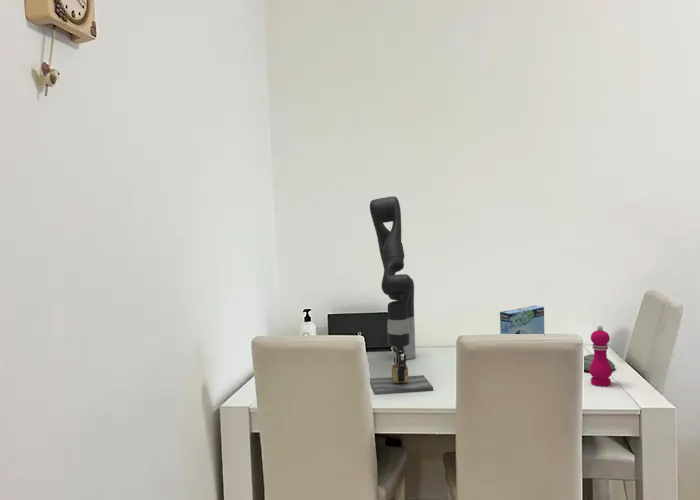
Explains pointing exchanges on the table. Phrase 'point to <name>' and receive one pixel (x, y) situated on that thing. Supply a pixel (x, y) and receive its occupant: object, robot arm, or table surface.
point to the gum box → (522, 321)
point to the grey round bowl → (588, 361)
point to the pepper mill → (600, 359)
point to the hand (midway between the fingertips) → (400, 379)
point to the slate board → (400, 385)
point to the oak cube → (395, 373)
